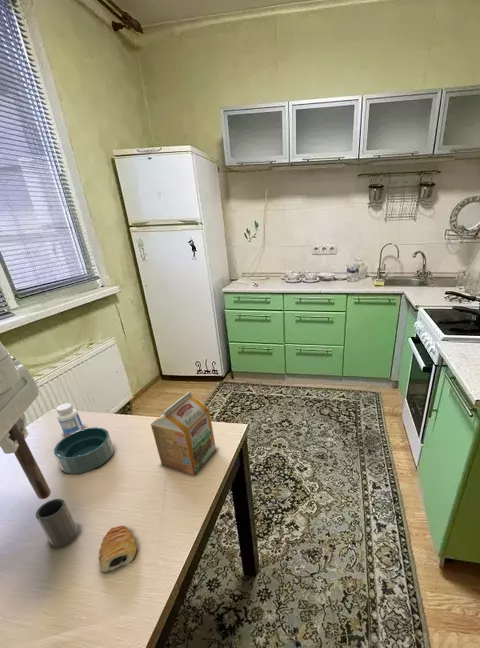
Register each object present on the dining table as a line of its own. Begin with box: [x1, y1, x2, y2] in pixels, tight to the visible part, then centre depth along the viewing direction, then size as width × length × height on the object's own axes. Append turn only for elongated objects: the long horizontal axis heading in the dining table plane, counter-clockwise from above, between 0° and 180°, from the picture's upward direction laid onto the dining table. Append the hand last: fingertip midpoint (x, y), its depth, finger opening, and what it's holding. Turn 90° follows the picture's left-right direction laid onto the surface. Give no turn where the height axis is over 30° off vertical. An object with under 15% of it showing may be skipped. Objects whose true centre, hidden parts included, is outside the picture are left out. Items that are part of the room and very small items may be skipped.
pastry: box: [98, 525, 138, 573], centre depth 66 cm, size 9×7×4 cm
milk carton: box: [150, 391, 217, 476], centre depth 87 cm, size 11×10×19 cm
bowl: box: [53, 426, 115, 475], centre depth 91 cm, size 13×13×6 cm
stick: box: [8, 423, 52, 500], centre depth 61 cm, size 2×2×18 cm
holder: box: [35, 498, 79, 548], centre depth 68 cm, size 5×5×9 cm
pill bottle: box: [55, 402, 85, 437], centre depth 101 cm, size 6×5×10 cm
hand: (17, 444), depth 58 cm, fingers closed on stick, 2 cm apart
